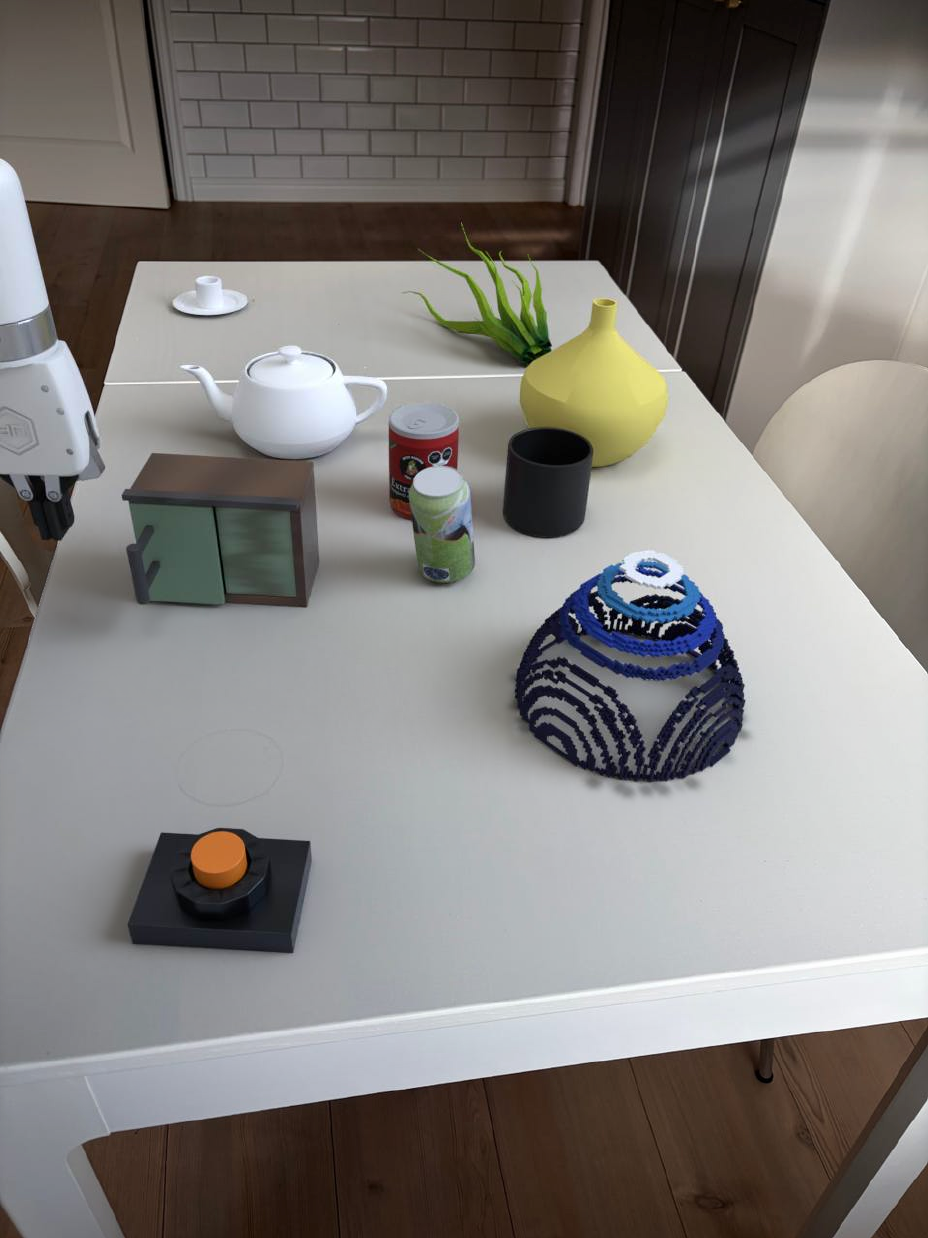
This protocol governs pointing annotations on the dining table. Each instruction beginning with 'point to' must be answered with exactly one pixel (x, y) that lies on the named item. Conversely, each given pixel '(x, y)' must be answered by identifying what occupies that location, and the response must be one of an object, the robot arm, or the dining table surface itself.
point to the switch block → (223, 897)
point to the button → (219, 860)
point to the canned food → (419, 447)
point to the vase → (596, 390)
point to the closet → (246, 519)
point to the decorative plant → (505, 315)
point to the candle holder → (209, 298)
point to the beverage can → (442, 524)
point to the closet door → (175, 553)
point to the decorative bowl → (637, 669)
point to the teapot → (291, 403)
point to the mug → (547, 481)
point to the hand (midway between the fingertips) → (57, 531)
